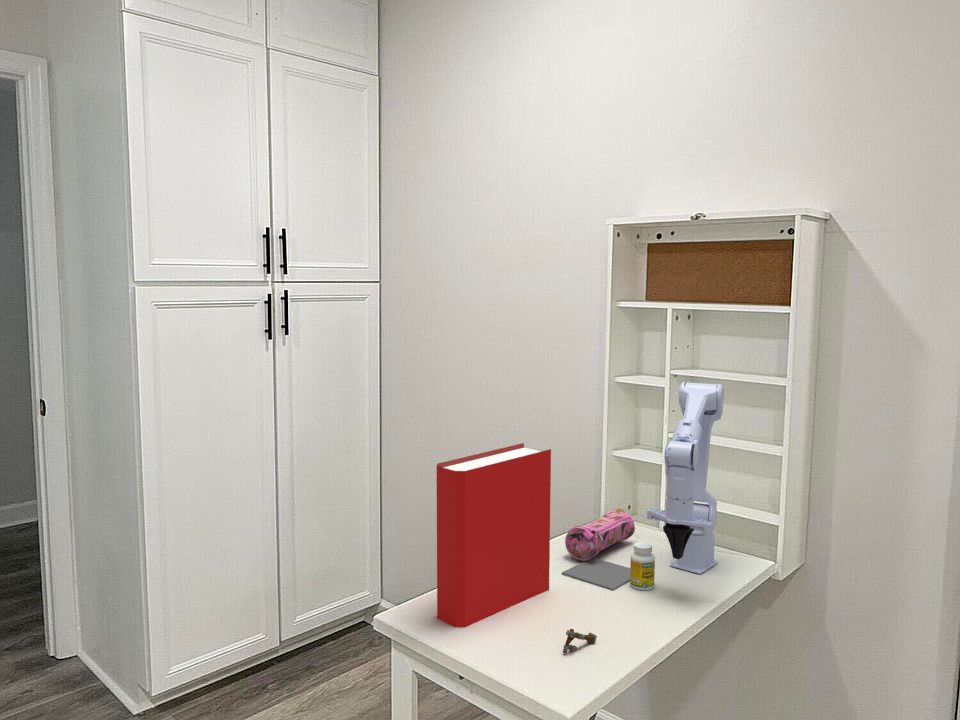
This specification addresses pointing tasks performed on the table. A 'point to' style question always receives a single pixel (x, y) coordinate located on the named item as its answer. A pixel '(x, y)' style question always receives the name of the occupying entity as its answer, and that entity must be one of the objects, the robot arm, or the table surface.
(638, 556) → the supplement bottle
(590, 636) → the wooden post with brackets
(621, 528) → the pencil case
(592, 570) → the slate mat
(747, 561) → the table surface
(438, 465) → the book
